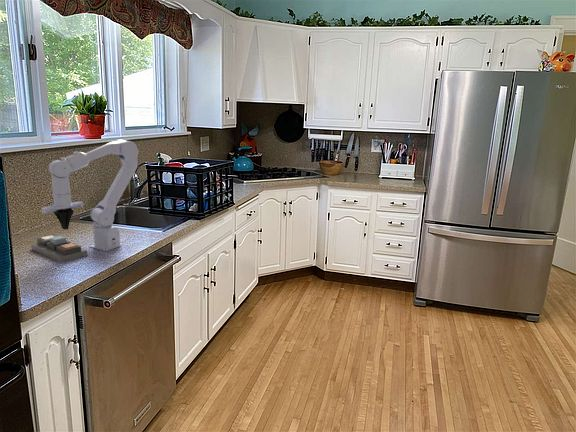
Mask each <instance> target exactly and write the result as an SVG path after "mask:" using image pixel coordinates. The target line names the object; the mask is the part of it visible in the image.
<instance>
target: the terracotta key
mask: <svg viewBox="0 0 576 432" xmlns="http://www.w3.org/2000/svg"><path fill="white" fill-rule="evenodd" d="M72 243H73V242H70V243H69V244H65V245H61V246H60V247H61V248H63V249H69V248H73V247H77V245H78V244H76V243H74V244H72ZM75 244H76V245H75Z"/></svg>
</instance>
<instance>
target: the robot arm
mask: <svg viewBox="0 0 576 432" xmlns="http://www.w3.org/2000/svg"><path fill="white" fill-rule="evenodd" d="M108 155H116V156H118V158H119V160H120V163H121V167H120V169H119V171H118V172H117V174H116V176H115V178H114V179H113V181H112V182H111V183H112V184H111V185H110V186H109V188H108V190H107V192H106V193H105V195H104V197H103V199H102V200H100V201H99V202H98V204H97V205H96V206H95V207H93V208H92V209H91V210H90V213H89V215H90V218H91V220H92V221H93V223H92V230H93V244H91V245H89V247H90V248H93V249H97V250H100V251H110V250H113V249H116V248H119V247H122V246H123V244H121V238H120V231H119V228H117V227H116V226H114V225H113V223H114V222H115V214H116V212H117V204H118V203H119V201H120V199H121V197H122V196H123V194H124V192H125V191H126V189H127V187H128V185H129V184H130V181H131V179H132V178H133V176H134V174H135V172H136V170H137V168H138V155H139V149H138V147H137V145H136V143H135V142H133V141H131V140H125V139H122V138H121V139H117V140H114V141H109V142H108V143H106V144H103V145H101V146H98V147H96V148H94V149H92V150H89V151H88V152H86V153H85V152H82V151H73V152H72V154H70V155H68V156H66V157H64V156H63V157H62V156H61V157H60V160H57V159H56V160H52V161H51V162H50V163H49V165H48V168H47V170H48V172H49V173H50V174H51V175H50V176H51V190H52V197H53V204H51V205H48V206H44V207H41V208H40V209H41V214H44V215H46V214H49V213H53V214H54V215H55V216H56V218H57V220H58V222H59V224H60V226H61V229H62V230H69V226H70V222H71V219H72V216H73V214H74V209H79V208H84V202H83V201H74V202H72V197H71V196H72V194H71V186H70V178H69V175H70V174H71V173H73V172H76V171H78V170H81V169H83V168H85V167H88V166H89V164H90V162H91V161H94V160H97V159H98V158H99V159H100V158H102V157H105V156H108Z"/></svg>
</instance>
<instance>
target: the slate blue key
mask: <svg viewBox="0 0 576 432" xmlns="http://www.w3.org/2000/svg"><path fill="white" fill-rule="evenodd" d="M55 236H56V235H55ZM66 241H67V237H65V236H62V235H57V236H56V237H52V238H50V243H52V244H54V245H58V244H62V243H66Z"/></svg>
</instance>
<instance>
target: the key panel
mask: <svg viewBox="0 0 576 432" xmlns="http://www.w3.org/2000/svg"><path fill="white" fill-rule="evenodd" d="M51 235H52V234H51ZM52 236H54V237H56V235H54V234H53V235H52ZM69 243H72V244H75V245H77V247H73V248H69V249H63V248H61V247H60V246H61V245H65V244H69ZM30 246H31V250H33V251H35V252H37V253H39V254H41V255H43V256H46V257H48V258H50V259H52V260H55V261H57V262H59V263H64V262H67V261H73V260H75V259H79V258H83V257H87V256H88V250H87V249H85V248H82V246H81V245H78V244H76V243H74V242H71V241H69V240H66V243H62V244H58V245H54V244H52V243H50V240H48V241H44V240H41V237H37V238H36V243H32V244H31V245H30Z"/></svg>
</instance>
